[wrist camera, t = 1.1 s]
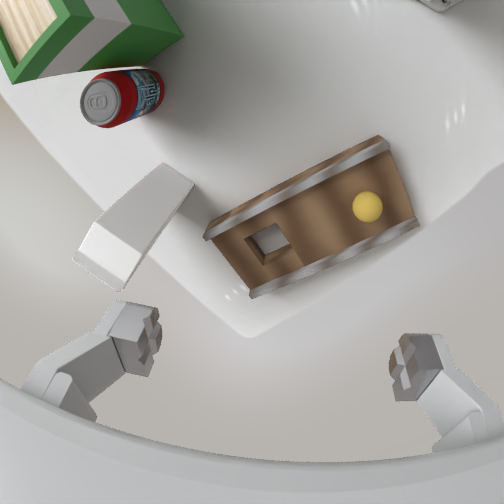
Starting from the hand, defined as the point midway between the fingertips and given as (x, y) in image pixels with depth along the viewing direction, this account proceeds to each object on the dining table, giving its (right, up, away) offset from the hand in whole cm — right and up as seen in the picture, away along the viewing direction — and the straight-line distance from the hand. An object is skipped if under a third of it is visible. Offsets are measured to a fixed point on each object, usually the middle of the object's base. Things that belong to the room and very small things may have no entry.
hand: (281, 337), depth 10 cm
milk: (-13, +13, +35) cm, 40 cm away
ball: (+14, +9, +28) cm, 32 cm away
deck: (+8, +8, +35) cm, 37 cm away
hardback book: (-17, +37, +20) cm, 45 cm away
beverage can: (-16, +25, +27) cm, 41 cm away
